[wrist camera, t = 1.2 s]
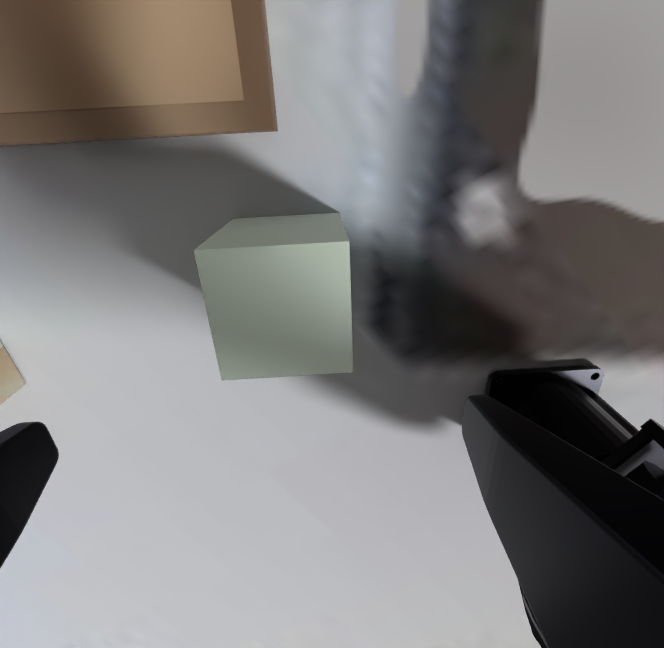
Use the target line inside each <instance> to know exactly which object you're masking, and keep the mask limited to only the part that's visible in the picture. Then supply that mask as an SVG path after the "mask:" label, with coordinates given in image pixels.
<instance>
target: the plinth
mask: <svg viewBox="0 0 664 648" xmlns="http://www.w3.org/2000/svg"><path fill="white" fill-rule="evenodd" d="M269 131H278V128H277V118H276V108H275V98H274V88H273V78H272V68H271V59H270V49H269V39H268V29H267V19H266V9H265V0H0V146H9V145H27V144H46V143H65V142H83V141H102V140H120V139H139V138H158V137H176V136H195V135H213V134H232V133H251V132H269Z"/></svg>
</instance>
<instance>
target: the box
mask: <svg viewBox="0 0 664 648" xmlns="http://www.w3.org/2000/svg"><path fill="white" fill-rule="evenodd" d="M24 385H25V381H24V379H23V377H22V376H21V374H20V372H19V371H18V369H17V367H16V365H15V364H14V362H13V361H12V359H11V357H10V356H9V354H8V352H7V351H6V349H5V347H4V346H3V344H2V343H1V341H0V404H2V403H3V402H4V401H5V400H7V399H8V398H9V397H10V396H12V395H13V394H14V393H15V392H17V391H18V390H19V389H20V388H22V387H23V386H24Z"/></svg>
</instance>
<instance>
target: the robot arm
mask: <svg viewBox="0 0 664 648" xmlns="http://www.w3.org/2000/svg"><path fill="white" fill-rule="evenodd" d="M593 373H594V374H593ZM592 374H593V375H592ZM591 375H592V376H591ZM603 377H604V372H603V370H601V369H600V368H599V367H597V366H595V365H588V366H571V367H554V368H537V369H521V370H504V371H495V372H493V373H491V374H490V375H489V378H488V382H487V388H486V394H485V395H475V396H469V397H467V399H466V401H465V407H464V415H463V422H462V434H463V438H464V441H465V444H466V447H467V450H468V454H469V457H470V460H471V463H472V466H473V469H474V472H475V475H476V478H477V481H478V485H479V488H480V491H481V494H482V497H483V500H484V502H485V505H486V508H487V510H488V513H489V515H490V517H491V520H492V522H493V524H494V526H495V529H496V531H497V533H498V535H499V538H500V540H501V542H502V544H503V547H504V549H505V551H506V553H507V556H508V558H509V560H510V562H511V565H512V567H513V569H514V571H515V574H516V576H517V578H518V582H519V586H520V590H521V594H522V598H523V602H524V606H525V611H526V614H527V617H528V620H529V623H530V626H531V630H532V633H533V635H534V637H535V639H536V640H537V641H538V642H539V644H540V646H541V647H542V648H664V427H663V426H661V425H660V424H658V423H657V422H655V421H654V420H652V419H649V420H648V421H647V422H646V423H644V424H643V425H642V426H641V428H642V429H641V430H640V431H638V430H637V429H636V428H635V427H634V426H633V425H631V424H630V423H629V422H628V421H627V420H626V419H625V418H623V417H622V416H621V415H620V414H619V413H618V412H617V411H615V410H614V409H613V408H612V407H611V406H610V405H609V404H607V403H606V402H605V401H604V400H603V399H602V398H601V397H599V396H598V392H599V389H600V386H601V383H602V380H603ZM500 378H501V379H500ZM497 379H500V380H499V381H497V382H496V380H497ZM58 456H59V453H58V449H57V447H56V445H55V443H54V441H53V439H52V437H51V435H50V433H49V431H48V429H47V427H46V426H45V425H44V424H43V423H41V422H24V423H18V424H16V425H14V426H12V427H9V428H7V429H5V430H3V431H1V432H0V568H1V566H2V565H3V563H4V562H5V560H6V558H7V557H8V555H9V553H10V552H11V550H12V548H13V547H14V545H15V543H16V542H17V540H18V538H19V536H20V535H21V533H22V531H23V529H24V527H25V525H26V523H27V522H28V520H29V518H30V516H31V514H32V512H33V510H34V508H35V506H36V504H37V502H38V500H39V498H40V496H41V494H42V492H43V490H44V488H45V486H46V484H47V482H48V480H49V478H50V476H51V474H52V472H53V470H54V468H55V466H56V463H57V461H58Z"/></svg>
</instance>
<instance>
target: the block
mask: <svg viewBox="0 0 664 648" xmlns="http://www.w3.org/2000/svg"><path fill="white" fill-rule="evenodd" d="M193 251H194V255H195V260H196V265H197V269H198V274H199V278H200V283H201V288H202V292H203V297H204V301H205V306H206V310H207V315H208V320H209V324H210V329H211V333H212V338H213V343H214V347H215V352H216V356H217V361H218V365H219V370H220V375H221V379H222V380H236V379H253V378H269V377H286V376H302V375H319V374H335V373H352V372H353V348H352V313H351V278H350V242H349V238H348V236H347V233H346V230H345V227H344V224H343V221H342V218H341V215H340V213H323V214H305V215H287V216H270V217H252V218H234V219H232V220H231V221H229V222H228V223H227V224H226V225H224V226H223V227H222V228H221V229H219V230H218V231H217V232H216V233H214V234H213V235H212V236H211V237H209V238H208V239H207V240H206V241H204V242H203V243H202V244H200V245H199V246H198V247H197V248H195V249H194V250H193Z"/></svg>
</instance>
